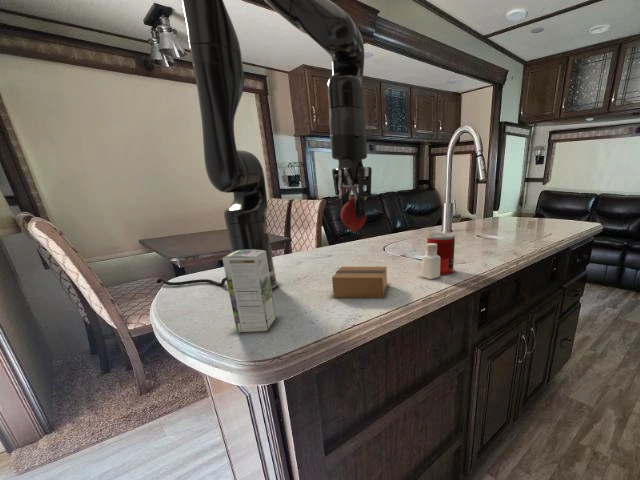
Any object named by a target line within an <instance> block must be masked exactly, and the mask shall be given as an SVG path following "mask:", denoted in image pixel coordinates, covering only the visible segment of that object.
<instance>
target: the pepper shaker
mask: <svg viewBox="0 0 640 480" xmlns="http://www.w3.org/2000/svg"><path fill="white" fill-rule="evenodd" d="M440 276H441V275H440V256H438V255H437V244H435V243H428V244H427V243H426V244H425V254H424V255H422V257H421V277H422V278H425V279H429V280H434V279H437V278H439V277H440Z"/></svg>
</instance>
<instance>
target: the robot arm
mask: <svg viewBox="0 0 640 480" xmlns="http://www.w3.org/2000/svg"><path fill="white" fill-rule="evenodd" d="M263 1H264V2H265V4H267V5H268V6H269V7H270V8H271V9H273V10H274V11H275V12H276V13H277V14H278V15H279V16H281V17H282V18H283V19H284V20H286V21H287V22H288V23H289V24H290V25H292V26H293V27H294V28H296V29H297V30H299V31H300V32H301V33H303V34H305V35H307V36H308V37H309V38H311V40H313V41H314V42H315V43H316V44H317V45H319V47H321V49H323V50H324V51H325V52H326V53H327V54H328V55H329V56H330V57H331V65H332V70H331V71H332V72H331V73H332V74H331V76H330V77H329V78H328V81H327V97H328V110H329V111H328V112H329V116H328V117H329V119H328V125H329V126H328V127H329V136H330V148H331V158H332V160H337V161H338V166H337V168H332V169H331V174H332V181H333V188H334V194H335V196H336V197H337V196H338V198H339V199H340V202H341V203H340V204H341V209H342V208H343V206H344V205H345V204H346V203H347V202H348V201H349V199H350V196H351V195H352V194H353V198H354V199H355V201H354V202H355V216H356V218H364V217H365V216H366V217H367V214H366V215H365V211H366V200H367V198H370V197H371V196H372V175H373V174H372V167H371V166H364V164H363V160H366V159H367V158H368V150H367V148H368V146H367V127H366V119H365V118H366V117H365V111H364V91H363V79H364V69H365V45H364V39H363V36H362V33H361V31H360V30H359V28H358V27H357V25H356V24H355V22H354V20H353V19H352V17H351V16H350V15H349V14H348V13H347V12H346V11H345V10H344V9H342V7H340V6H339V5H338V4H337V3H335V2H333V1H332V0H263ZM181 2H182V8H183V13H184V17H185V23H186V28H187V29H186V30H187V35H188V42H189V43H188V44H189V50H190V56H191V62H192V69H193V72H194V77H195V83H196V90H197V96H198V103H199V111H200V119H201V128H202V142H203V143H202V145H203V159H204V166H205V172H206V175H207V178H208V180H209V181H210V183H211V185H212V186H213V187H214V189H216V190H217V191H219V192H221V193H226V194H232V193H233V199H232V200H233V201H232V203H231V204H230V205H229V206H227V208H225V209H224V210H223V219H224V223H225V228H226V233H227V238H228V242H229V246H230V252H231V253H233V252H235V251H238V250H264V251H266V255H267V262H268V268H269V275H270V281H271V288H272V290H274V289H276V288H277V286H278V282H277V277H276V271H275V266H274V259H273V254H272V252H273V251H272V247H271V241H270V234H269V227H268V222H267V210H268V197H267V188H266V187H267V186H266V179H265V178H266V177H265V173H264V169H263V166H262V163H261V161H260V160H259V159H258V157H257V156H256V155H255V154H253V153H252V152H250V151H247V150H241V149H237V144H236V137H235V119H236V114H237V111H238V108H239V105H240V102H241V99H242V96H243V93H244V88H245V74H244V65H243V57H242V50H241V45H240V41H239V38H238V35H237V32H236V29H235V27H234V24H233V22H232V19H231V16H230V14H229V12H228V9H227V8H226V5H225V2H224V0H181ZM226 282H227V279H226V277H223V278H222V279H221V282H217V281H215V280H213V279H209V278H208V279H207V278H201V279H191V280H185V281H168V280H166V279H165V278H164V277H160V278H158V279H157V281H156V284H161V283H163V284H164V285H167V286H184V285H191V284H197V283H209V284H212V285H214V286H217V287H218V286H219V287H223V286H224V285H225V284H226Z"/></svg>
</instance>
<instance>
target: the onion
mask: <svg viewBox="0 0 640 480" xmlns="http://www.w3.org/2000/svg"><path fill="white" fill-rule="evenodd" d="M354 201H355V198H354V196H350V198H349V201H348V202H347V203H346V204H345V205H344V206H343V208H342V207H341V209H340V220H341V222H342V223H343V225H344V226H345V227H346V228H347V229H349V231H350V232H352V233H356V232H357V231H358V230H360V229H361V228H362V227H363V226H364V225H365V224H366V222H367V211H366V210H365V215H366V216H365V217H364V218H356V216H355V202H354Z"/></svg>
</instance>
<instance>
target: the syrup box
mask: <svg viewBox="0 0 640 480" xmlns="http://www.w3.org/2000/svg"><path fill="white" fill-rule="evenodd" d="M222 264H223V269H224V273H225V278H226V279H227V281H226V284H227V290H228V294H229V299H230V305H231V309H232V314H233V319H234V324H235V329H236V332H237V333H252V332H266V331H269V329H270V328H271V326H272V325H273V323H274V322H275V321H276V319H277V315H276V309H275V308H276V307H275V303H274V297H273V295H274V294H273V289H272V288H271V281H270V275H269V268H268V262H267V255H266V251H264V250H238V251H235V252H233V253H232V252H231V253H229V254H227V255H225V256H223V257H222Z"/></svg>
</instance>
